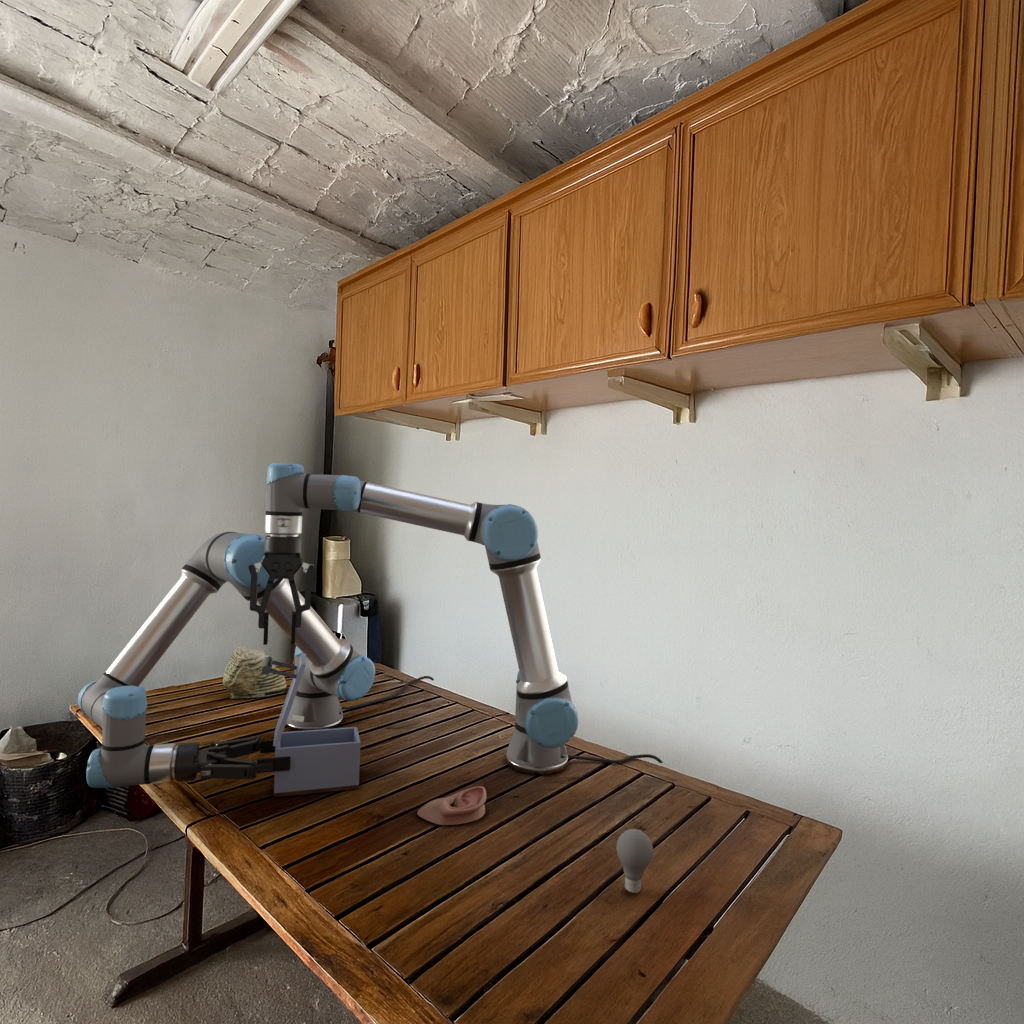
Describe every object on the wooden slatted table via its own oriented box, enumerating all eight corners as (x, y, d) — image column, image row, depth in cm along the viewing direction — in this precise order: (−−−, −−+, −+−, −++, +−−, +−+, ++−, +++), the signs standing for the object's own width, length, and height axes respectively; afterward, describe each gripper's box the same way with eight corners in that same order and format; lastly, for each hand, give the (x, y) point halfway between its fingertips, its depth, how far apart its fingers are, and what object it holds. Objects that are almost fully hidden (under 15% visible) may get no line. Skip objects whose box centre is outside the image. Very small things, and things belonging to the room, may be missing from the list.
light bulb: (610, 879, 108) (613, 822, 108) (644, 879, 109) (647, 822, 109) (619, 902, 102) (622, 840, 102) (655, 901, 103) (658, 840, 103)
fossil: (218, 695, 195) (220, 647, 195) (278, 685, 208) (279, 640, 207) (228, 703, 189) (230, 653, 188) (289, 692, 201) (290, 645, 201)
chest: (355, 770, 147) (357, 726, 147) (358, 788, 138) (360, 742, 138) (275, 777, 142) (277, 732, 142) (273, 797, 133) (275, 749, 132)
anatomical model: (412, 801, 125) (431, 776, 136) (411, 820, 125) (430, 795, 136) (477, 810, 122) (491, 784, 134) (476, 830, 122) (490, 803, 134)
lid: (305, 653, 143) (269, 644, 140) (305, 664, 134) (266, 655, 131) (279, 730, 142) (242, 722, 139) (277, 747, 133) (237, 739, 130)
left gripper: (185, 758, 142) (291, 750, 149) (164, 805, 121) (288, 793, 128) (186, 725, 142) (292, 719, 149) (165, 766, 120) (290, 756, 127)
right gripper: (236, 535, 130) (232, 648, 130) (327, 537, 135) (323, 645, 136) (239, 533, 137) (236, 640, 137) (326, 535, 143) (322, 637, 143)
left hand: (290, 753), depth 138 cm, fingers closed on chest, 10 cm apart
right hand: (279, 642), depth 137 cm, fingers open, 5 cm apart
